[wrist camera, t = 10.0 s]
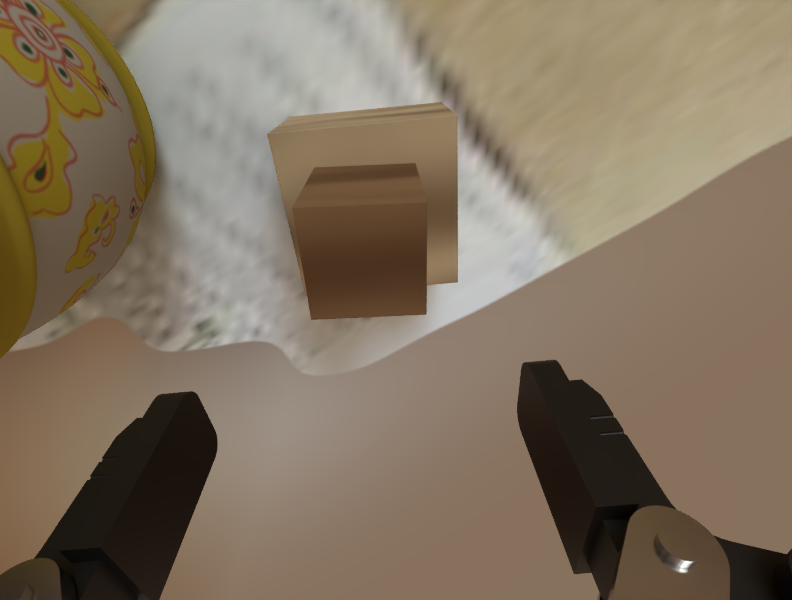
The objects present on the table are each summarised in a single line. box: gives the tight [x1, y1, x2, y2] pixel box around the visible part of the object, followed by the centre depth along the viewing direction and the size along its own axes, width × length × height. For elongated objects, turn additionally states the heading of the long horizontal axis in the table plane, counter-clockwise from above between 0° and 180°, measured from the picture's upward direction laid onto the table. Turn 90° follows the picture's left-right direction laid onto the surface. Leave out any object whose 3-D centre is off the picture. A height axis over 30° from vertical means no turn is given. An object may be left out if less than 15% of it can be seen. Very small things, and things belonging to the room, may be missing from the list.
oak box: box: [267, 102, 458, 296], centre depth 24 cm, size 9×9×6 cm
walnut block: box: [292, 163, 428, 320], centre depth 19 cm, size 5×5×6 cm
